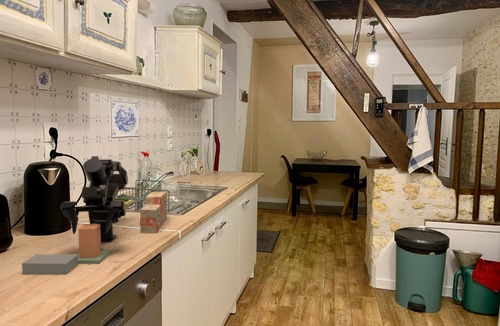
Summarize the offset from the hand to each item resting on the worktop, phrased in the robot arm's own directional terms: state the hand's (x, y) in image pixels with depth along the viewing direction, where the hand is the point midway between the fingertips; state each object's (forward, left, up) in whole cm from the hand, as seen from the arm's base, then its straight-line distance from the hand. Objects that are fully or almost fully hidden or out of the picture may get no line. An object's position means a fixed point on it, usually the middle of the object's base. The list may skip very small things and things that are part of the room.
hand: (89, 232), depth 110 cm
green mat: (0, 0, -8) cm, 8 cm away
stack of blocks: (-36, +11, -8) cm, 39 cm away
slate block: (+9, -7, -8) cm, 14 cm away
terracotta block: (0, 0, -7) cm, 7 cm away
